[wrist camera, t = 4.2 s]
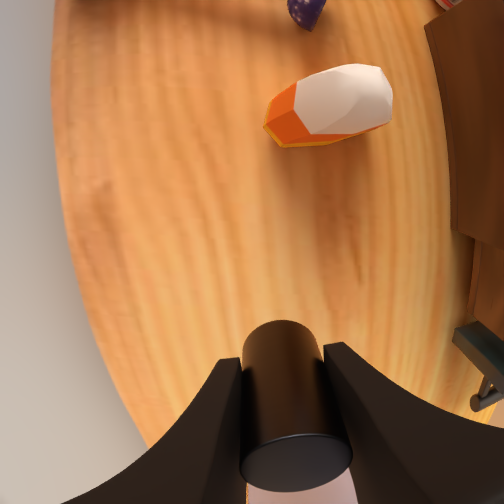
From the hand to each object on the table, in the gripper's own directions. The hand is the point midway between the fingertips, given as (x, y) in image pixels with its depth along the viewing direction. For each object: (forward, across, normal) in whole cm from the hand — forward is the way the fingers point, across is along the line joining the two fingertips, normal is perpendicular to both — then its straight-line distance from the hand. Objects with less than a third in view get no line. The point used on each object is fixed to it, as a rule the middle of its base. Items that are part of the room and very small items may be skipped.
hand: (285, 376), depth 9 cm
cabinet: (+9, -16, -8) cm, 20 cm away
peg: (+1, 0, 0) cm, 1 cm away
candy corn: (+9, -4, -8) cm, 13 cm away
